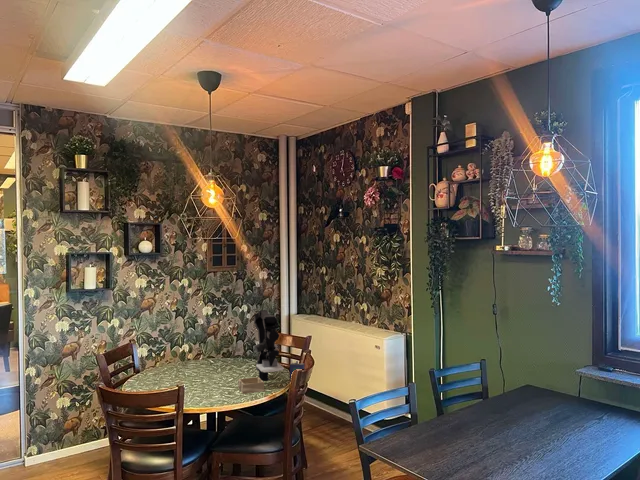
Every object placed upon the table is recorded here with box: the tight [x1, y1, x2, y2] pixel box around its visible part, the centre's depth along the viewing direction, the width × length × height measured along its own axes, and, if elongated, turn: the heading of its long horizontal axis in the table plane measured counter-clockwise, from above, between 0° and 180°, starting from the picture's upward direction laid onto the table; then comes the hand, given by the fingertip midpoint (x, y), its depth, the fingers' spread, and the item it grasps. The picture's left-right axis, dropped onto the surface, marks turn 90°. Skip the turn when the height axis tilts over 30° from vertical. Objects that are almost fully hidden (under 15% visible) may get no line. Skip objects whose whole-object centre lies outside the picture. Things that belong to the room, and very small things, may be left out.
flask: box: [289, 360, 305, 379], centre depth 294 cm, size 9×3×11 cm, turn 88°
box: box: [237, 376, 265, 395], centre depth 271 cm, size 12×12×5 cm
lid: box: [255, 358, 285, 373], centre depth 275 cm, size 13×13×6 cm
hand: (269, 364), depth 275 cm, fingers closed on lid, 4 cm apart
